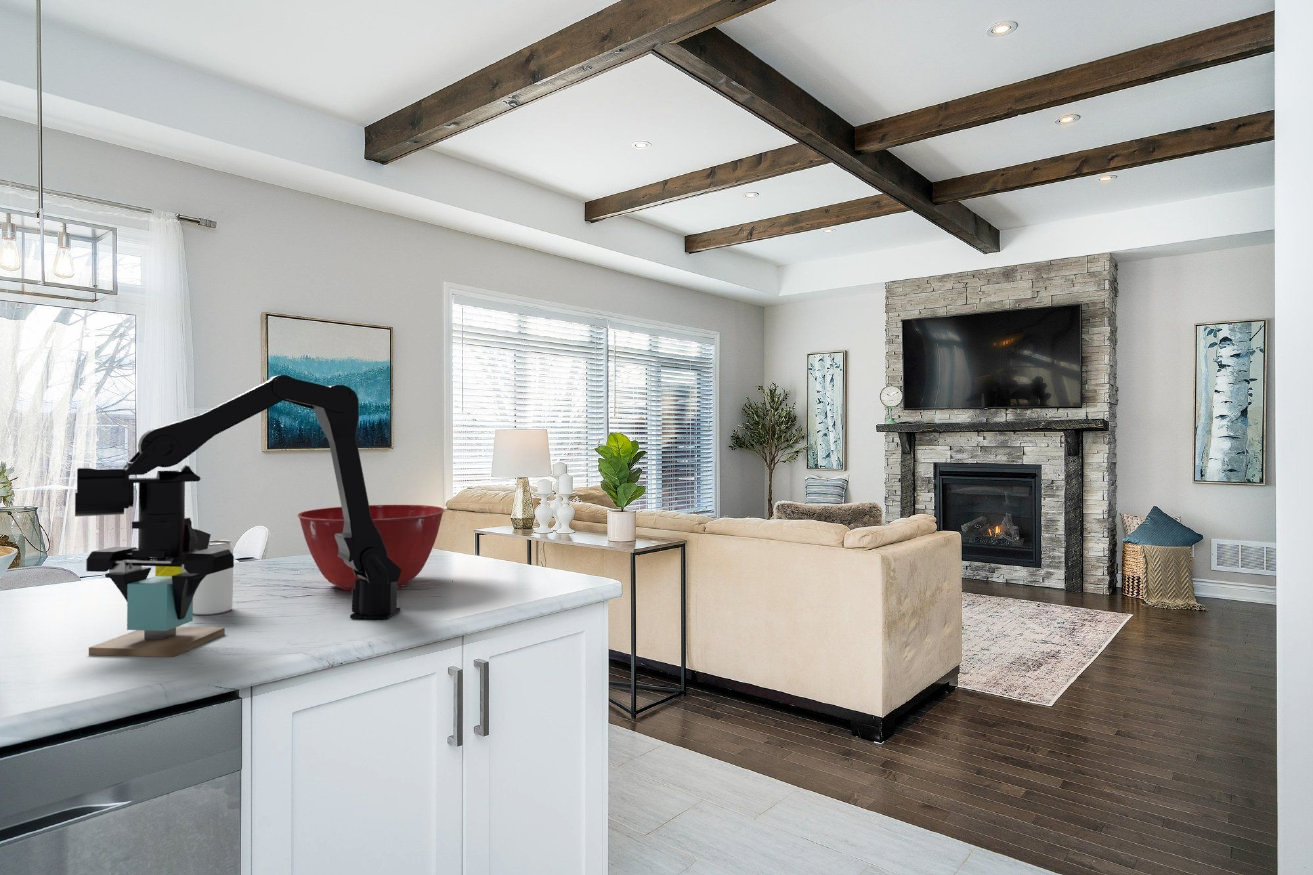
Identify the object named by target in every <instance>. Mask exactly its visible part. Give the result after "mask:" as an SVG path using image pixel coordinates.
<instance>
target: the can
mask: <svg viewBox="0 0 1313 875" xmlns="http://www.w3.org/2000/svg"><path fill="white" fill-rule="evenodd" d="M231 542H232V541H231V540H227V539H216V540H215V539H212V540H211V539H210V540H209V545H208V549H229V550H230V552H231V553H232V554H233V555H234V549H233V547H232V546H231ZM233 598H234V567H232V568H229V569H226V570H222V571H219V572H216V573H212V574H209V575H206V576H205V578H204V579H203V580H202V581H201V582H200V584H199V586H198V588H197V590H196V592H195V594H194V596H193V616H214V615H220V614H224V613H228V612H229V611H231V609H233V608H234V607H233V605H234V604H233V600H234V599H233Z"/></svg>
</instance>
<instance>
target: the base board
mask: <svg viewBox="0 0 1313 875" xmlns="http://www.w3.org/2000/svg"><path fill="white" fill-rule="evenodd" d="M225 628H226V627H219V626H218V627H215V626H214V627H213V626H211V627H210V626H207V627H206V626H178V627H176V635H174V636H172V637H169V638H167V639H164V640H148V639H144V630H132V631H131V632H128V633H126V634H123V635H120V636H117V637H114V638H112V639H108V640H107V641H106V640H105V641H103V642H100V643H97V644H95V645H92V646H90V647H88V656H119V657H120V656H124V657H125V656H126V657H130V656H131V657H156V658H157V657H161V658H162V657H164V658H165V657H166V658H173V657H175V656H178V655H180V654H183V653H184V652H187V651H190V650H191V649H194V648H197V647H199V646H201V645H204V644H205V643H208V642H210V641H212V640H215V639H217V638H219V637H221V636H223V635H225V634H226V629H225Z"/></svg>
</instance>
